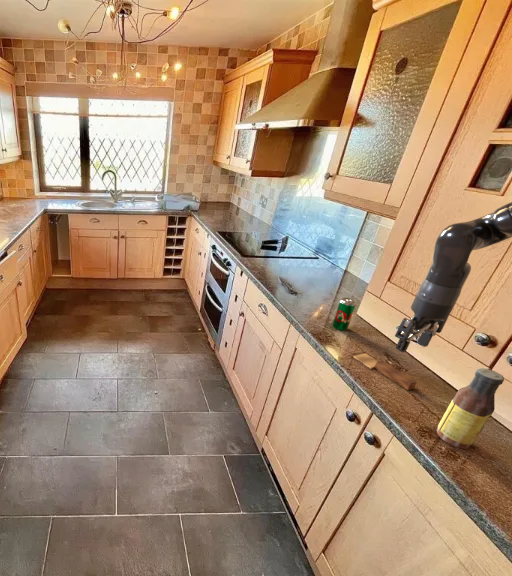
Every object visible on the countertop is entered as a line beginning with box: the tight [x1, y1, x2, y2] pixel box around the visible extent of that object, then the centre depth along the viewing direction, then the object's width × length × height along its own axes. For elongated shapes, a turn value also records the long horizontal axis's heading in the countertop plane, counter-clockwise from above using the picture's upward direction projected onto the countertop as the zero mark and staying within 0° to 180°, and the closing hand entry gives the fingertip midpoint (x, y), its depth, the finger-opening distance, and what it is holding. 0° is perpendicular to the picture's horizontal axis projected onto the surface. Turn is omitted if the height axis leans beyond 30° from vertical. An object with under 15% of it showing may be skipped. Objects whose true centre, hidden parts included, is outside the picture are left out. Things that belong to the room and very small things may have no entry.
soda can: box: [332, 297, 357, 332], centre depth 115 cm, size 5×5×12 cm
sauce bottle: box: [436, 367, 505, 450], centre depth 70 cm, size 7×6×20 cm
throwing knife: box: [277, 275, 297, 294], centre depth 152 cm, size 4×20×1 cm, turn 176°
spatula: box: [353, 352, 417, 391], centre depth 95 cm, size 16×5×2 cm, turn 16°
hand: (411, 347), depth 87 cm, fingers open, 8 cm apart
